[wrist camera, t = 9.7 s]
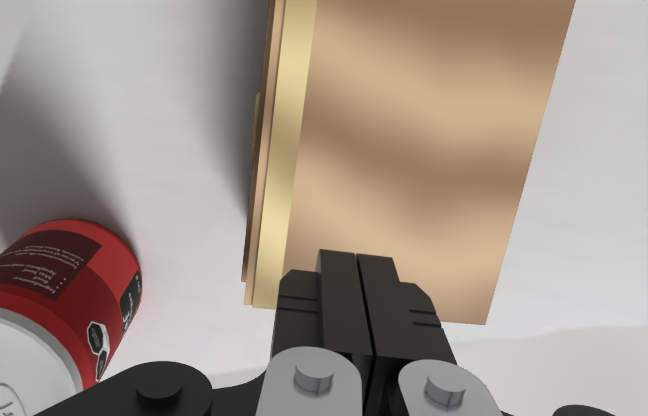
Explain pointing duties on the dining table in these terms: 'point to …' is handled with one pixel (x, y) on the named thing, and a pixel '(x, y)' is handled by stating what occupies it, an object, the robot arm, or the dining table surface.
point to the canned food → (62, 311)
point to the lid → (401, 139)
